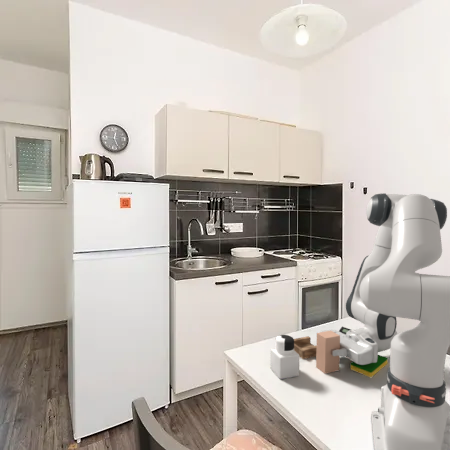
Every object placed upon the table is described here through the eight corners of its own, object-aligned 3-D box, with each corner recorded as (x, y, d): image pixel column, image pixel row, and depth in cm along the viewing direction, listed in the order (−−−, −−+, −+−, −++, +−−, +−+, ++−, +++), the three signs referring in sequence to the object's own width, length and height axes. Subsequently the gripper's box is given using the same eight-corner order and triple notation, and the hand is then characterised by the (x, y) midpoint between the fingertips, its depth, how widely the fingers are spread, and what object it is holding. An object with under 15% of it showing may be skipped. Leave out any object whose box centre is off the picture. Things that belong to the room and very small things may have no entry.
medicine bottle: (288, 365, 106) (289, 331, 105) (299, 376, 99) (300, 340, 98) (270, 368, 104) (270, 334, 103) (280, 379, 97) (280, 343, 96)
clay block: (330, 364, 107) (330, 330, 106) (339, 370, 103) (340, 335, 102) (316, 367, 105) (316, 333, 104) (324, 373, 101) (325, 338, 100)
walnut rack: (306, 342, 124) (307, 335, 124) (325, 354, 114) (325, 347, 114) (285, 346, 121) (286, 339, 120) (302, 359, 110) (302, 351, 110)
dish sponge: (387, 364, 108) (388, 357, 108) (371, 378, 98) (371, 371, 98) (367, 357, 113) (367, 350, 113) (349, 370, 104) (350, 363, 104)
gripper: (336, 323, 118) (307, 328, 113) (381, 345, 99) (348, 353, 93) (336, 339, 118) (306, 345, 113) (381, 364, 99) (347, 373, 94)
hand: (325, 349), depth 103 cm, fingers closed on clay block, 4 cm apart
